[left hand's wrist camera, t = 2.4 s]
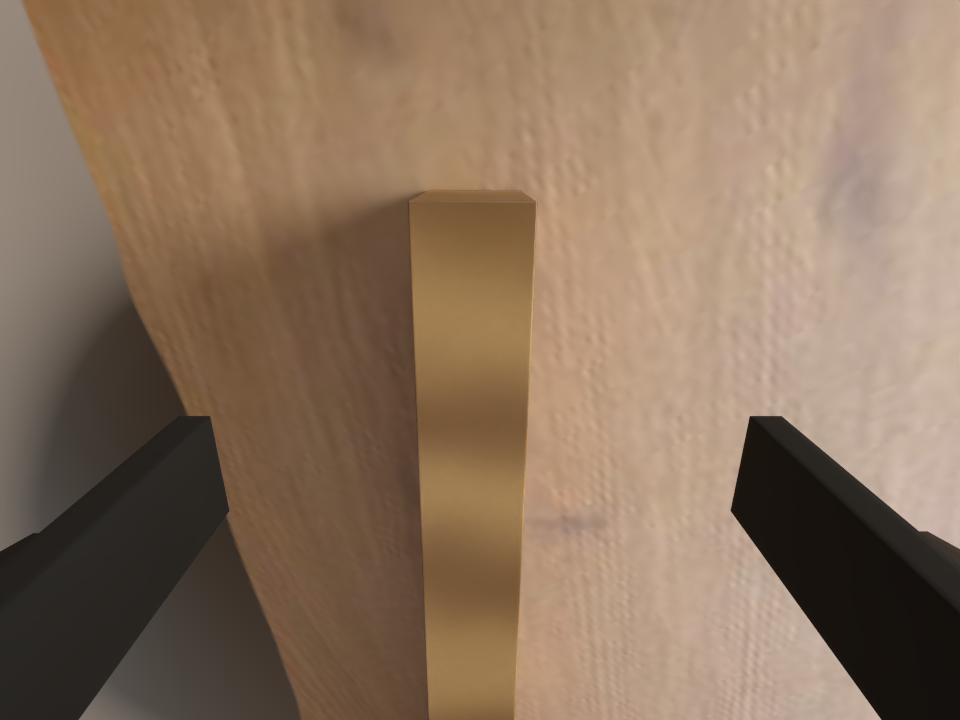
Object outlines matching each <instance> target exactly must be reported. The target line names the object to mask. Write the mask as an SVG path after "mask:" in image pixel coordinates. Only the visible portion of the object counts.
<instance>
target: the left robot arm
mask: <svg viewBox="0 0 960 720" xmlns="http://www.w3.org/2000/svg"><path fill="white" fill-rule="evenodd" d="M228 512H229V507H228V502H227V497H226V492H225V487H224V482H223V478H222V473H221V468H220V463H219V458H218V453H217V448H216V443H215V438H214V433H213V428H212V423H211V419H210V416H178V417H177V418H176V419H175V420H174V421H172V422H171V423H170V424H169V425H168V426H166V427H165V428H164V429H163V430H162V431H160V432H159V433H158V434H157V435H156V436H154V437H153V438H152V439H151V440H150V441H148V442H147V443H146V444H145V445H144V446H143V447H141V448H140V449H139V450H138V451H137V452H135V453H134V454H133V455H132V456H131V457H129V458H128V459H127V460H126V461H125V462H123V463H122V464H121V465H120V466H119V467H117V468H116V469H115V470H114V471H113V472H112V473H110V474H109V475H108V476H107V477H106V478H104V479H103V480H102V481H101V482H100V483H98V484H97V485H96V486H95V487H94V488H92V489H91V490H90V491H89V492H88V493H86V494H85V495H84V496H83V497H82V498H80V499H79V500H78V501H77V502H76V503H74V504H73V505H72V506H71V507H70V508H69V509H67V510H66V511H65V512H64V513H63V514H61V515H60V516H59V517H58V518H57V519H55V520H54V521H53V522H52V523H51V524H49V525H48V526H47V527H46V528H45V529H43V530H42V531H41V532H40V533H33V534H31V535H29V536H28V537H26V538H24V539H22V540H20V541H18V542H17V543H15V544H13V545H11V546H9V547H8V548H6V549H4V550H2V551H0V720H79V718H80V717H81V716H82V714H83V713H84V711H85V710H86V709H87V707H88V706H89V704H90V703H91V702H92V700H93V699H94V697H95V696H96V695H97V693H98V692H99V691H100V689H101V688H102V686H103V685H104V684H105V682H106V681H107V679H108V678H109V677H110V675H111V674H112V673H113V671H114V670H115V668H116V667H117V666H118V664H119V663H120V661H121V660H122V659H123V657H124V656H125V655H126V653H127V652H128V650H129V649H130V648H131V646H132V645H133V643H134V642H135V641H136V639H137V638H138V637H139V635H140V634H141V632H142V631H143V630H144V628H145V627H146V625H147V624H148V623H149V621H150V620H151V619H152V617H153V616H154V614H155V613H156V612H157V610H158V609H159V607H160V606H161V605H162V603H163V602H164V601H165V599H166V598H167V596H168V595H169V594H170V592H171V591H172V589H173V588H174V587H175V585H176V584H177V583H178V581H179V580H180V578H181V577H182V576H183V574H184V573H185V571H186V570H187V569H188V567H189V566H190V565H191V563H192V562H193V560H194V559H195V558H196V556H197V555H198V553H199V552H200V551H201V549H202V548H203V547H204V545H205V544H206V542H207V541H208V540H209V538H210V537H211V535H212V534H213V533H214V531H215V530H216V528H217V527H218V526H219V524H220V523H221V522H222V520H223V519H224V517H225V516H226V515H227V513H228ZM731 512H732V513H733V515H734V516H735V517H736V519H737V520H738V522H739V523H740V524H741V526H742V527H743V529H744V530H745V531H746V533H747V534H748V535H749V537H750V538H751V540H752V541H753V542H754V544H755V545H756V547H757V548H758V549H759V551H760V552H761V553H762V555H763V556H764V558H765V559H766V560H767V562H768V563H769V565H770V566H771V567H772V569H773V570H774V571H775V573H776V574H777V576H778V577H779V578H780V580H781V581H782V583H783V584H784V585H785V587H786V588H787V589H788V591H789V592H790V594H791V595H792V596H793V598H794V599H795V601H796V602H797V603H798V605H799V606H800V607H801V609H802V610H803V612H804V613H805V614H806V616H807V617H808V619H809V620H810V621H811V623H812V624H813V625H814V627H815V628H816V630H817V631H818V632H819V634H820V635H821V637H822V638H823V639H824V641H825V642H826V643H827V645H828V646H829V648H830V649H831V650H832V652H833V653H834V655H835V656H836V657H837V659H838V660H839V661H840V663H841V664H842V666H843V667H844V668H845V670H846V671H847V673H848V674H849V675H850V677H851V678H852V679H853V681H854V682H855V684H856V685H857V686H858V688H859V689H860V691H861V692H862V693H863V695H864V696H865V697H866V699H867V700H868V702H869V703H870V704H871V706H872V707H873V709H874V710H875V711H876V713H877V714H878V716H879V717H880V718H881V720H960V549H958V548H957V547H955V546H953V545H951V544H949V543H947V542H946V541H944V540H942V539H940V538H938V537H936V536H935V535H933V534H931V533H929V532H919V531H918V530H917V529H915V528H914V527H913V526H912V525H911V524H909V523H908V522H907V521H906V520H905V519H903V518H902V517H901V516H900V515H899V514H897V513H896V512H895V511H894V510H893V509H891V508H890V507H889V506H888V505H887V504H886V503H884V502H883V501H882V500H881V499H880V498H878V497H877V496H876V495H875V494H874V493H872V492H871V491H870V490H869V489H868V488H866V487H865V486H864V485H863V484H862V483H860V482H859V481H858V480H857V479H856V478H855V477H853V476H852V475H851V474H850V473H849V472H847V471H846V470H845V469H844V468H843V467H841V466H840V465H839V464H838V463H837V462H835V461H834V460H833V459H832V458H831V457H829V456H828V455H827V454H826V453H825V452H823V451H822V450H821V449H820V448H819V447H818V446H816V445H815V444H814V443H813V442H812V441H810V440H809V439H808V438H807V437H806V436H804V435H803V434H802V433H801V432H800V431H798V430H797V429H796V428H795V427H794V426H792V425H791V424H790V423H789V422H788V421H787V420H785V419H784V418H783V417H782V416H750V419H749V423H748V428H747V433H746V438H745V443H744V448H743V453H742V458H741V463H740V468H739V473H738V478H737V482H736V487H735V492H734V497H733V502H732V507H731Z"/></svg>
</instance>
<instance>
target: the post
mask: <svg viewBox="0 0 960 720" xmlns="http://www.w3.org/2000/svg"><path fill="white" fill-rule="evenodd" d="M408 214H409V239H410V264H411V290H412V315H413V340H414V365H415V390H416V416H417V441H418V466H419V491H420V517H421V542H422V567H423V592H424V618H425V643H426V668H427V693H428V719H429V720H514V717H515V695H516V672H517V650H518V627H519V605H520V582H521V560H522V537H523V515H524V492H525V470H526V447H527V425H528V402H529V380H530V357H531V335H532V312H533V290H534V267H535V245H536V222H537V202H536V201H535V200H533V199H532V198H531V197H529V196H528V195H526V194H525V193H523V192H522V191H485V190H428V191H426V192H424V193H423V194H421V195H419V196H417V197H415V198H413V199H411V200H409V201H408Z"/></svg>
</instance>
